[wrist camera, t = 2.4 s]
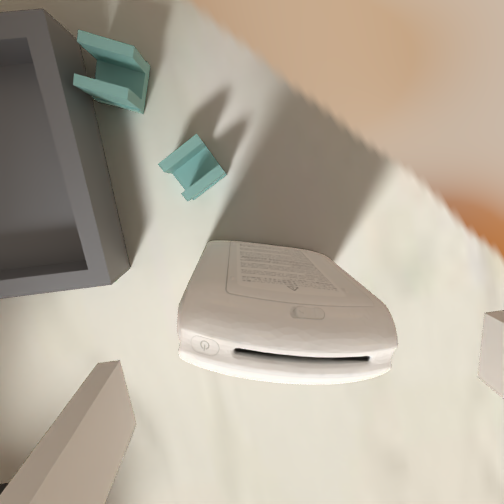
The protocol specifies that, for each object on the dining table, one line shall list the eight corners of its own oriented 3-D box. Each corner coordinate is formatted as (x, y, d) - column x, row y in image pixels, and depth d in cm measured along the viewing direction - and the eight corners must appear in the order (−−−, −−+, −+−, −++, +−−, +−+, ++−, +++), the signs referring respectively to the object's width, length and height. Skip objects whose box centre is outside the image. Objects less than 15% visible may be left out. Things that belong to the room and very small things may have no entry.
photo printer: (196, 286, 23) (157, 401, 11) (201, 233, 22) (164, 298, 10) (320, 298, 24) (408, 416, 12) (330, 249, 23) (437, 323, 11)
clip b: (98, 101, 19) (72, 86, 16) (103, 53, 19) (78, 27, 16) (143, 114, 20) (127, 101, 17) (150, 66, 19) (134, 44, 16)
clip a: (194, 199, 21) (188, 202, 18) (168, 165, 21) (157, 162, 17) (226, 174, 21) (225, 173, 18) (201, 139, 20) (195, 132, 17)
